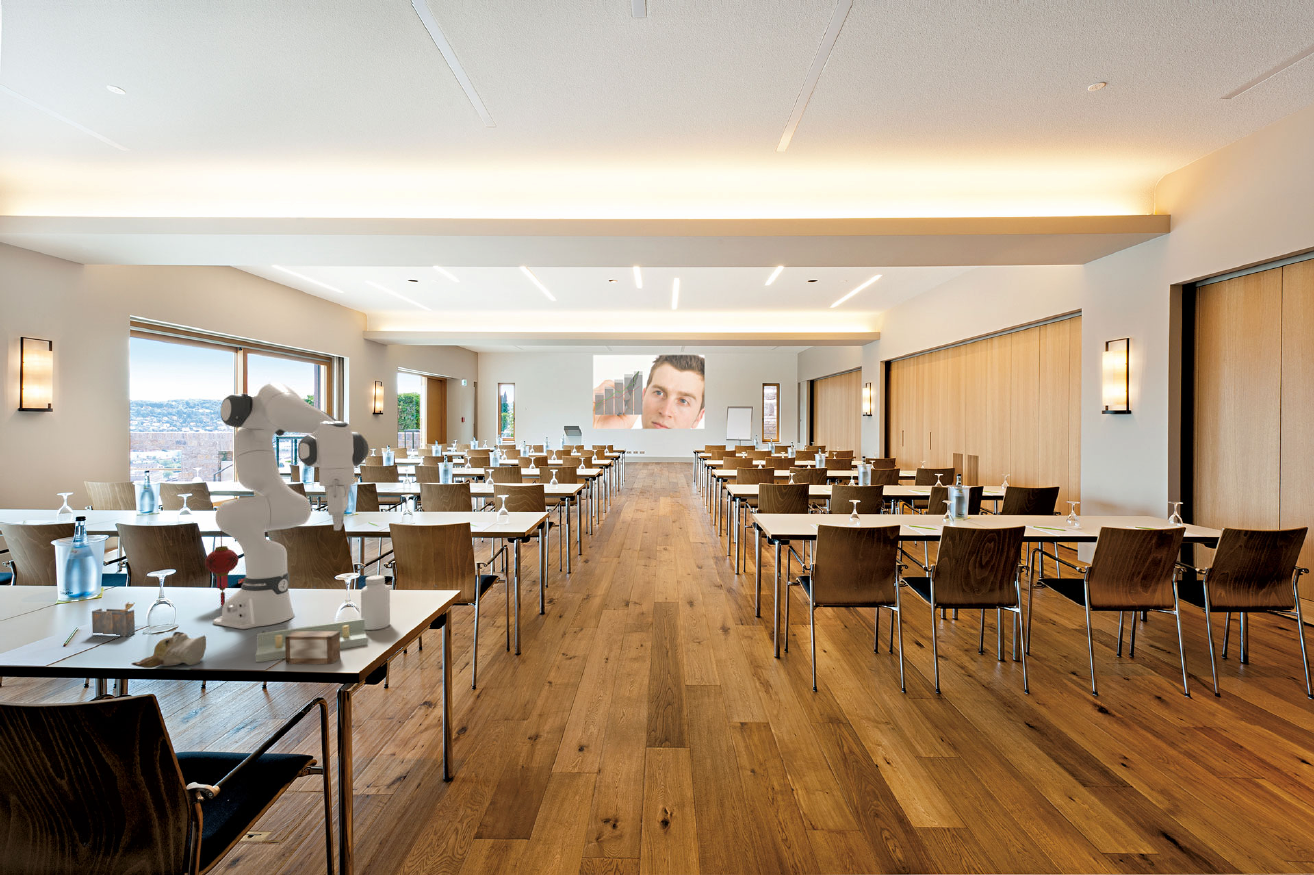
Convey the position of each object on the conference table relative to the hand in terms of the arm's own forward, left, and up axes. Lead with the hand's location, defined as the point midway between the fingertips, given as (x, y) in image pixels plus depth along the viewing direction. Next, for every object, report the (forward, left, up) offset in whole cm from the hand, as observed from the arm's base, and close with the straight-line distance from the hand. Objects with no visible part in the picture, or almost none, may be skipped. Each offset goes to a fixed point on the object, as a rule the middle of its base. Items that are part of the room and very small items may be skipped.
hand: (338, 528), depth 176 cm
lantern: (-65, +25, -32) cm, 77 cm away
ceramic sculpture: (-31, -22, -33) cm, 50 cm away
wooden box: (+2, -14, -32) cm, 35 cm away
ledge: (-4, -6, -32) cm, 33 cm away
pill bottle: (+1, +14, -32) cm, 35 cm away
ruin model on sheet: (-71, -6, -33) cm, 78 cm away
